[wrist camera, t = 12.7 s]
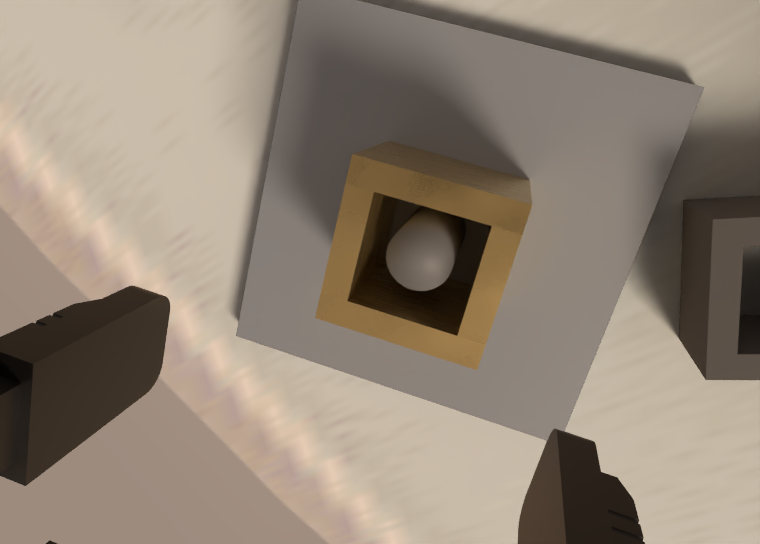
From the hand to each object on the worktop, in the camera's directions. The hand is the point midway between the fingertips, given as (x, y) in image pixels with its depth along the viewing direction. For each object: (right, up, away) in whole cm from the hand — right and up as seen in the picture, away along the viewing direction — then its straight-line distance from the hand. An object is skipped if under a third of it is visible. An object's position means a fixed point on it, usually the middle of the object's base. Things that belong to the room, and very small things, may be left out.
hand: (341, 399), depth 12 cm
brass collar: (+3, +4, +14) cm, 15 cm away
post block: (+3, +5, +15) cm, 16 cm away
